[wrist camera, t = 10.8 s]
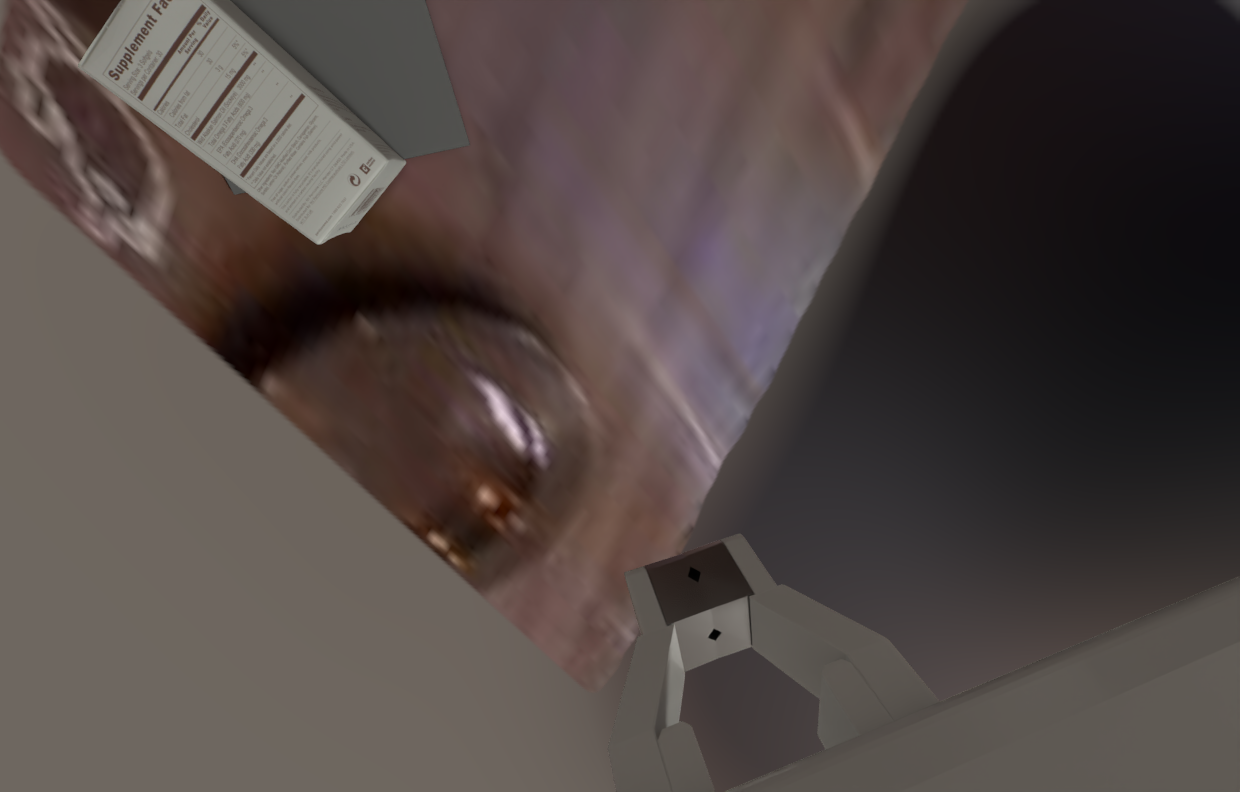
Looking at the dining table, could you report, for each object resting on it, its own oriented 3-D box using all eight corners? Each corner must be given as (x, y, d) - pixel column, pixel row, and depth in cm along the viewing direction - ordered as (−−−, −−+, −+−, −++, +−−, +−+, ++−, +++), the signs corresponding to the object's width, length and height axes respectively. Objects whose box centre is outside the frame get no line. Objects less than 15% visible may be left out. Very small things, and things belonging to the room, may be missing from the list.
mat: (404, -66, 29) (403, -69, 28) (470, 145, 35) (469, 144, 34) (115, -23, 27) (110, -25, 26) (237, 194, 33) (234, 194, 32)
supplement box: (349, 235, 35) (163, 89, 29) (410, 162, 34) (229, -6, 28) (316, 250, 29) (69, 66, 23) (389, 160, 27) (150, -58, 21)
